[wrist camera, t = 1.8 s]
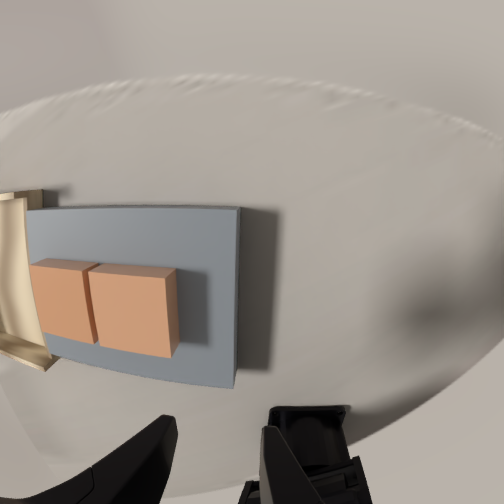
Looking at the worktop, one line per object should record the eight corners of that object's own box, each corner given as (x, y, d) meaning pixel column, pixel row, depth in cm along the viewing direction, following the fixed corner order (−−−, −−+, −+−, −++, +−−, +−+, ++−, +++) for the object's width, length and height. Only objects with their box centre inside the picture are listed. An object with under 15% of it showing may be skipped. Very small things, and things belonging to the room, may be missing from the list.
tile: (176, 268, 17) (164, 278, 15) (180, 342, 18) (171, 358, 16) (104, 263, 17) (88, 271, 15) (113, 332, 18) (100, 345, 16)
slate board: (240, 206, 18) (236, 209, 16) (236, 368, 21) (233, 388, 19) (46, 207, 19) (26, 210, 17) (64, 340, 22) (49, 353, 19)
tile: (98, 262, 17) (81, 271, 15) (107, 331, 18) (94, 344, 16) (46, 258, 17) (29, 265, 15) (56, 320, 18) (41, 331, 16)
